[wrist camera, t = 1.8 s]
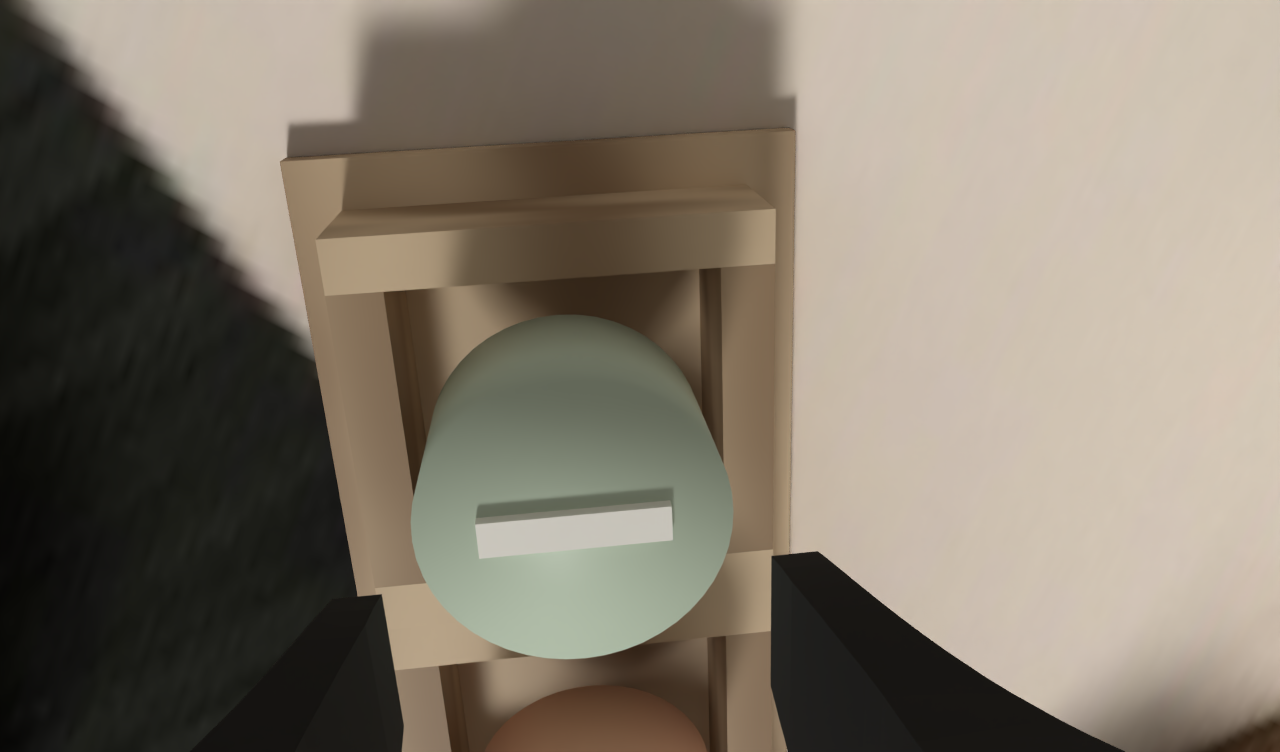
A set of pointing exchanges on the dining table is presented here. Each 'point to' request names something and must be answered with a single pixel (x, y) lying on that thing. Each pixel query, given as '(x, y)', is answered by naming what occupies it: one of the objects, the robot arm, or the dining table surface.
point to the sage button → (569, 491)
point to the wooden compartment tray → (537, 287)
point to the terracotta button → (598, 724)
